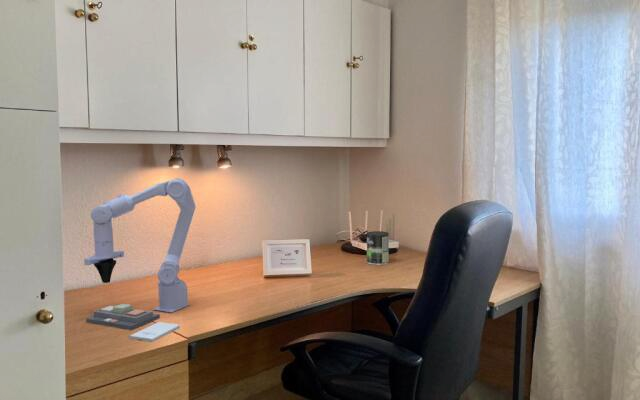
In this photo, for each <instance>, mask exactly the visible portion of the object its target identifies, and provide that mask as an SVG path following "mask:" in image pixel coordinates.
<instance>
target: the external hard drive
mask: <svg viewBox="0 0 640 400" xmlns="http://www.w3.org/2000/svg"><path fill="white" fill-rule="evenodd" d="M180 327H181V325H180V324H176V323H171V322H162V321H159V322H158V321H157V322H155V323H154V324H151V325H149V326H147V327H145V328H143V329H141V330H139V331H136V332H134V333H133V334H131V335H129V336H128V339H130V340H135V341H142V342H149V343H153V342H155V341H157V340H159V339H161V338H162V337H165V336H166V335H168V334H171V333H173V332H174V331H176V330H179V329H180Z"/></svg>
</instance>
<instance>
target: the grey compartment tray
mask: <svg viewBox="0 0 640 400" xmlns="http://www.w3.org/2000/svg"><path fill="white" fill-rule="evenodd" d="M101 309H102V308H99V309H97V310H93V315H92V316H90V317H86V318H85V319H86V320H85V322H86V323H88V324H89V323H90V324H94V325H100V326H101V325H102V326H106V327H113V328H118V329H123V330H130V331H133V330H135V329H137V328H140V327H142V326H145V325H147V324H149V323H152V322H154V321H156V320H159V319H160V318H161V315H160V314H159V313H153V311H150V310H143V309H142V310H143V311H145V312H146V313H144V314H142V315H139V316H137V317H134V316H128V315H126V314H123V315H121V314H115V313H113V312H110V313H108V312H102V311H101ZM133 310H139V309H137V308H132V311H133Z"/></svg>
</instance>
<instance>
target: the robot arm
mask: <svg viewBox="0 0 640 400" xmlns="http://www.w3.org/2000/svg"><path fill="white" fill-rule="evenodd" d="M157 196H159V197H166V196H169V197H170V198H171V199H172V200H174V202H175V203H176V204H177V205H178V207H179V210H180V212H179V214H178V217H177V220H176V223H175V228H174V231H173V234H172V237H171V240H170V244H169V247H168V250H167V254H166V256H165V260H164V262H163V263H161V265H160V269H158V272H157V278H158V280H159V281H158V282H157V287H158V288H157V289H158V306H156V307H154V308H153V310H154V311H159V312H166V313H174V312H176V311H179V310H181V309H184V308H186V307H188V306H190V303H188V301H189V300H188V299H189V298H188V286H187V284H186V281H184V280H183V279H180V278H179V277H178V275H179V273H180V272H179V271H180V266H179V263H180V260H181V255H182V253H183V250H184V247H185V242H186V239H187V236H188V233H189V230H190V227H191V223H192V220H193V216H194V214H195V211H196V203H195V200H194V196H193V194H192V191H191V187H190V185H188V183H187V182H186V181H185V179H182V178H179V177H178V178H174V179H172V180H166V181H163V182H160V183H159V182H158V183H157V184H154V185H153V186H150V187H148V188H146V189H144V190H142V191H140V192H137V193H136V194H133V195H128V194H119V195H117V197H116V198H114V199H112V200H109V201H108V200H105V201H104V202H103V204H100V205H97V206H96V207H94V208H93V209H92V211H91V213H90V218H91V220H92V221H93V242H94V243H93V245H94V254H93V255H91V256H89V257H87V258H84V260H83V262H84V265H85V266H91V265H93V266H94V267H95V268H96V270H97V272H98V274H99V276H100V280H101V282H102V283H103V284H108V283H111V278H112V274H113V271H114V268H115V266H116V264H117V260H116V259H117V258H124V257H125V252H124V250H118V251H117V250H114V235H113V234H114V233H113V225H112V222H113V220H112V219H113V218H114V219H115V218H118V217H121V216H122V215H123V216H124V215H125V214H128V213H129V212H131V211H134V209H135V206H136V205H138V204H140V203H142V202H143V203H144V202H145V201H149V200H151V199H152V198H155V197H157Z"/></svg>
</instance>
